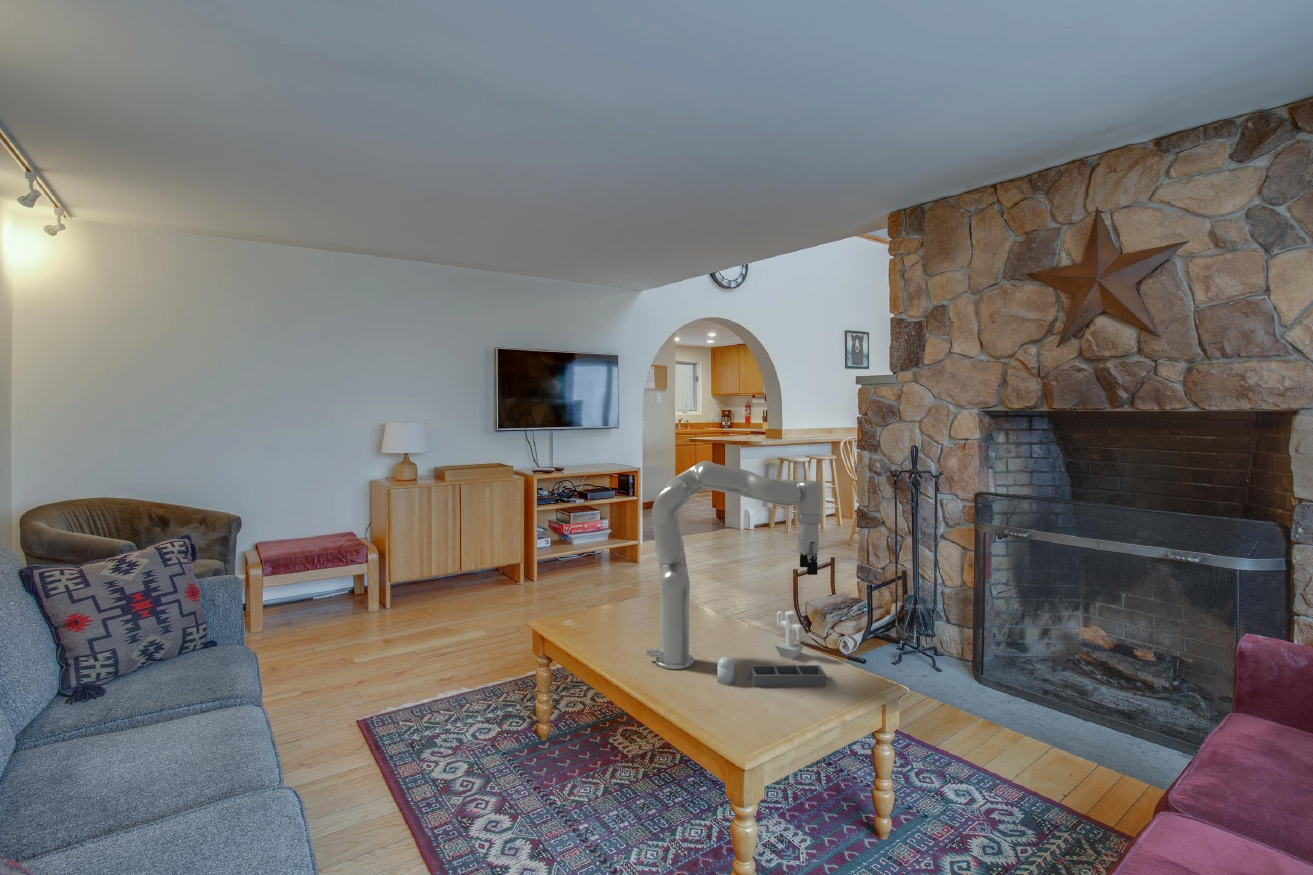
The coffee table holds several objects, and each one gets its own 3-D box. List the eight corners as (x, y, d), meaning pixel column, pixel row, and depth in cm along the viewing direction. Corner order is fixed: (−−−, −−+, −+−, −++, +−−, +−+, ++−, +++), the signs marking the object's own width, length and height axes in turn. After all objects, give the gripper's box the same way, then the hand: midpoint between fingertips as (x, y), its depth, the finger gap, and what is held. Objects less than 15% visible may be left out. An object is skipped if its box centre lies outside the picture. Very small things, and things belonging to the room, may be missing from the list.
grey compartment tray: (754, 686, 193) (754, 675, 193) (750, 675, 201) (750, 665, 201) (826, 686, 194) (826, 675, 194) (819, 675, 201) (819, 664, 201)
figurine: (796, 662, 212) (796, 617, 211) (771, 655, 218) (772, 611, 217) (807, 656, 217) (807, 612, 216) (783, 649, 223) (783, 606, 223)
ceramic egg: (718, 684, 195) (718, 660, 194) (716, 677, 200) (716, 654, 199) (734, 684, 195) (734, 660, 194) (732, 677, 200) (732, 654, 199)
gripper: (791, 514, 218) (790, 564, 219) (803, 523, 201) (803, 577, 202) (813, 514, 218) (812, 564, 219) (827, 523, 201) (827, 577, 202)
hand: (808, 570), depth 210 cm, fingers open, 9 cm apart
